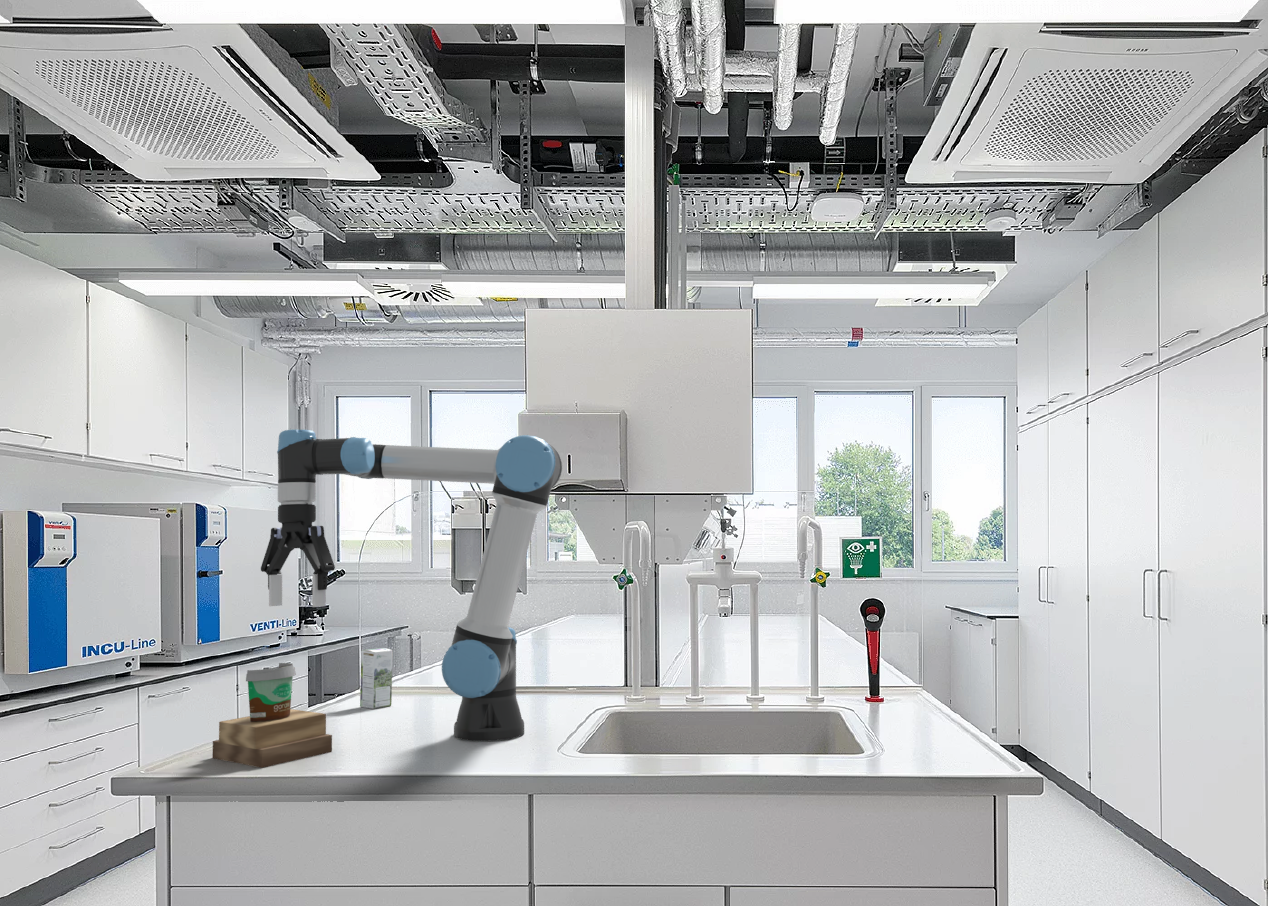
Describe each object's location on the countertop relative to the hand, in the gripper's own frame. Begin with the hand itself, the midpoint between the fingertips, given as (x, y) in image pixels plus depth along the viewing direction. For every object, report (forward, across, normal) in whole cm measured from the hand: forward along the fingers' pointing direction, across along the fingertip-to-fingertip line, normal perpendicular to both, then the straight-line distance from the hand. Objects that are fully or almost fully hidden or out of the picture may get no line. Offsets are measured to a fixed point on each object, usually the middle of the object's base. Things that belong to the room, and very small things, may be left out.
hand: (297, 606), depth 203 cm
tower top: (+26, -1, +6) cm, 26 cm away
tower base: (+29, 0, +6) cm, 30 cm away
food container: (+22, -2, +6) cm, 22 cm away
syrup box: (+29, +24, -44) cm, 57 cm away
